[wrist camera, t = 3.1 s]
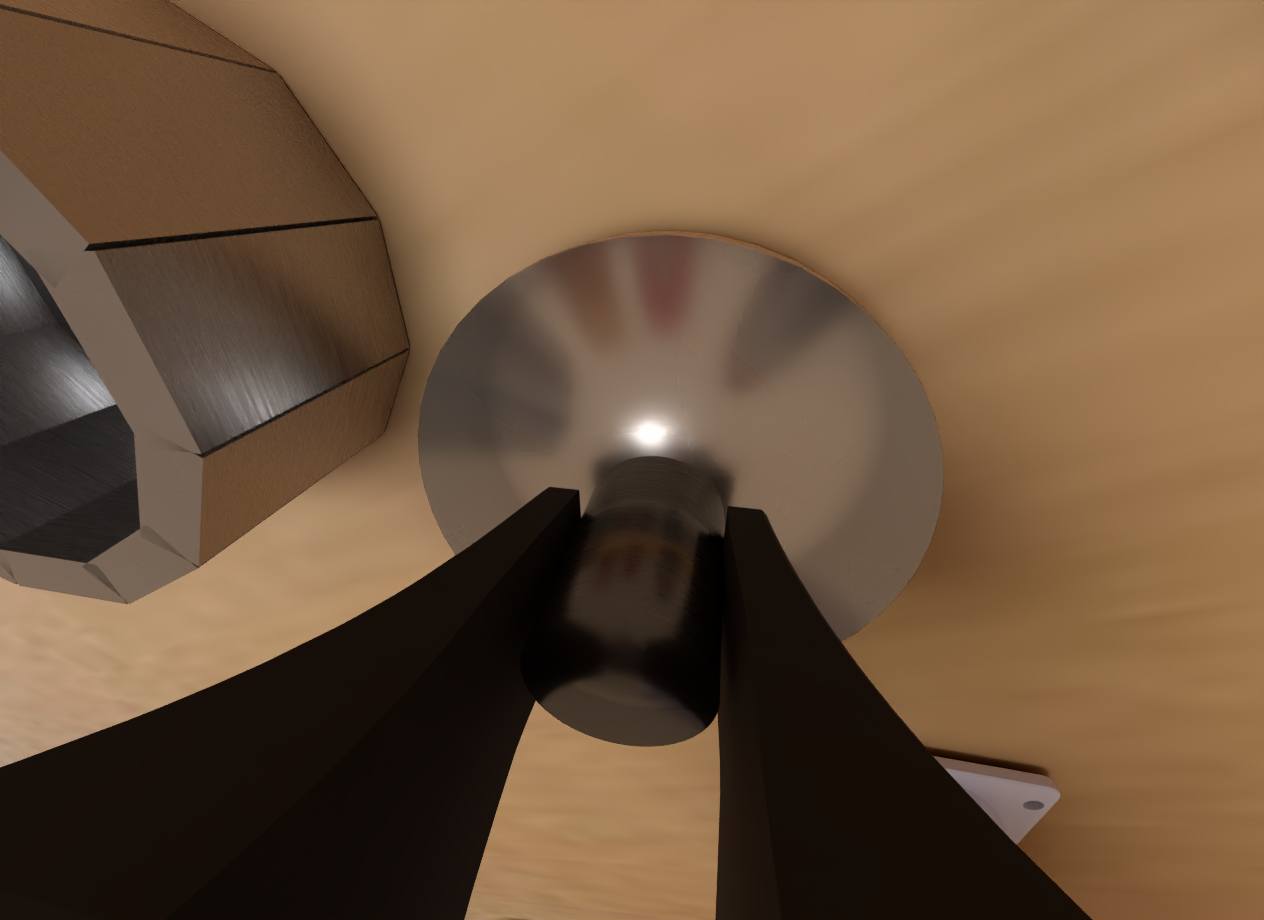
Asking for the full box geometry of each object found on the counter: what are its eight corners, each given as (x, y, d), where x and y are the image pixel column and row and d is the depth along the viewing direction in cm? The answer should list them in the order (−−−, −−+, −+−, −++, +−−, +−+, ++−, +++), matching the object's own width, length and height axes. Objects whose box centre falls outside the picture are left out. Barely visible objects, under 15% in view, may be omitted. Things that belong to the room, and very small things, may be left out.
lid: (847, 654, 13) (912, 921, 8) (489, 600, 15) (374, 799, 10) (1000, 233, 8) (1420, 315, 3) (410, 220, 9) (81, 262, 5)
